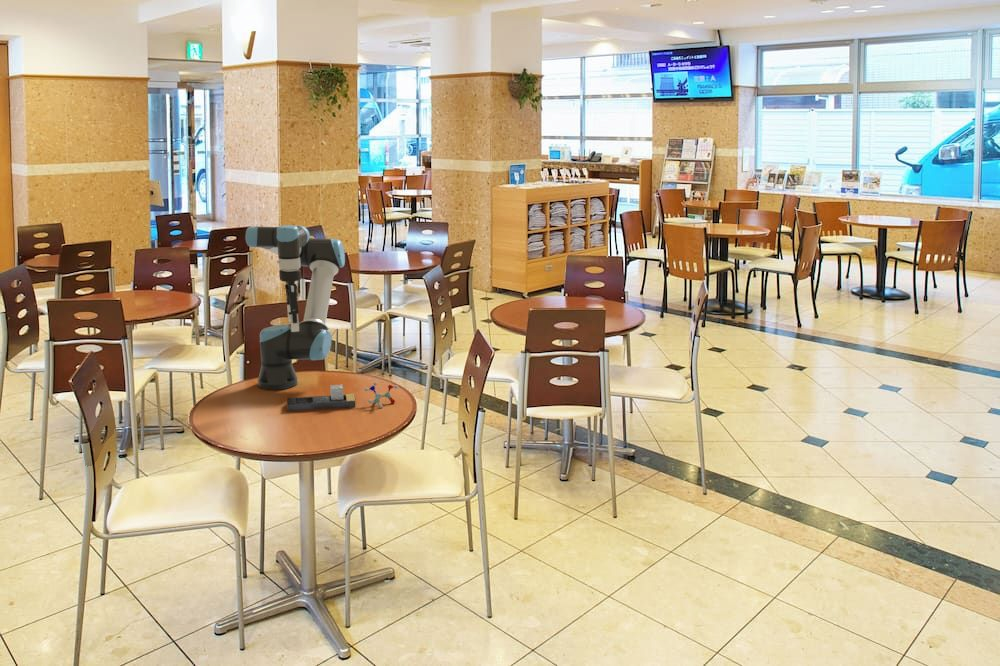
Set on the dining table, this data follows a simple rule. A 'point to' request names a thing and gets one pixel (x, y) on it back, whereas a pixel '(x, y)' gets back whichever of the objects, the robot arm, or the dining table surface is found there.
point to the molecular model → (380, 394)
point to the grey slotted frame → (319, 403)
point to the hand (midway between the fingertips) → (293, 326)
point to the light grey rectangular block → (336, 392)
